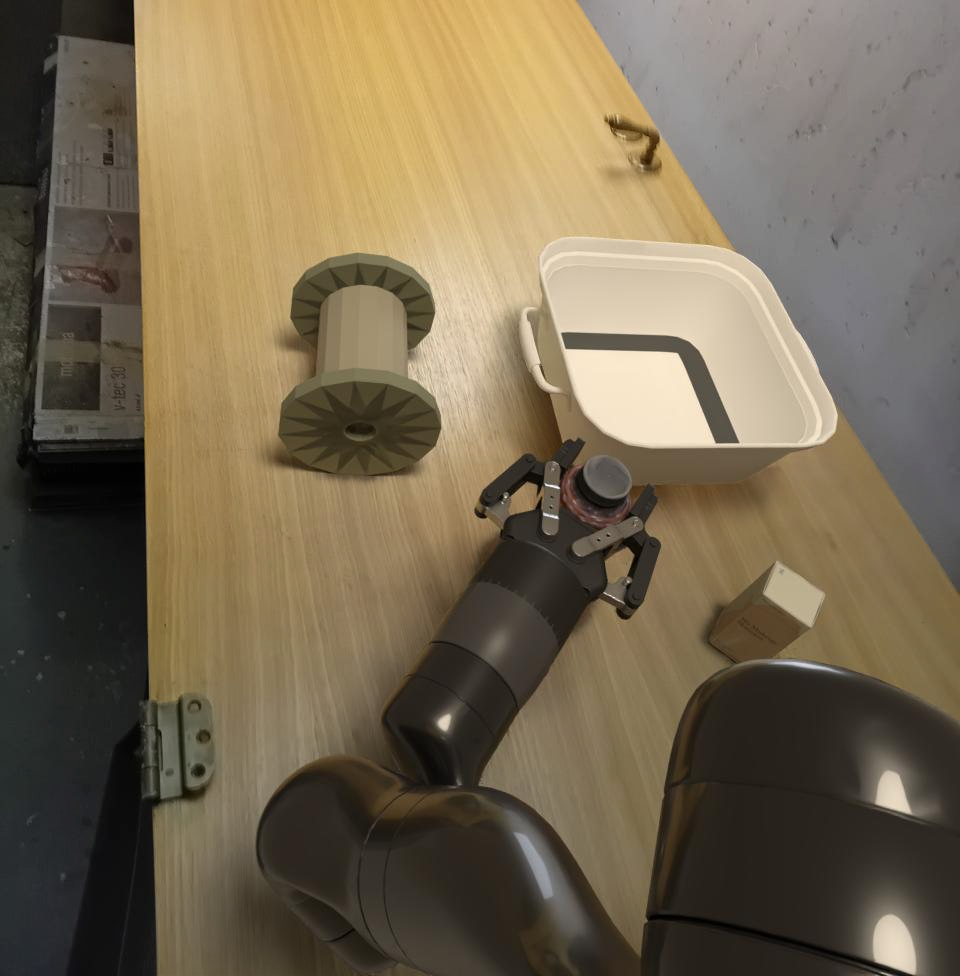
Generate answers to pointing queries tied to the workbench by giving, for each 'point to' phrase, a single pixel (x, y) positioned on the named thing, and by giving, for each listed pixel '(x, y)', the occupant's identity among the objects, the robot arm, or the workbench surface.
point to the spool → (361, 367)
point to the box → (767, 615)
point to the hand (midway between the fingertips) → (612, 467)
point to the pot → (672, 360)
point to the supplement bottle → (597, 491)
